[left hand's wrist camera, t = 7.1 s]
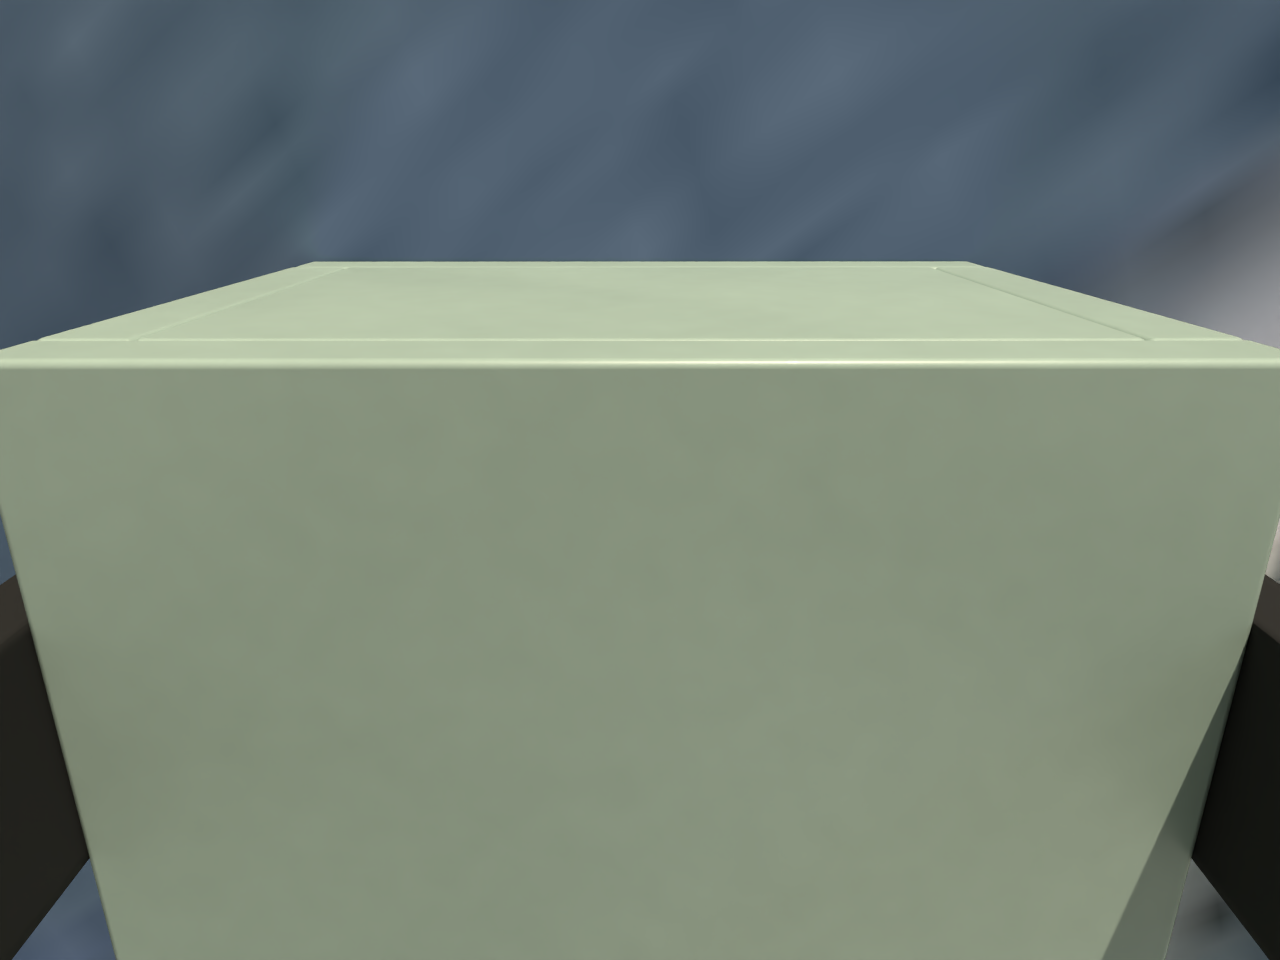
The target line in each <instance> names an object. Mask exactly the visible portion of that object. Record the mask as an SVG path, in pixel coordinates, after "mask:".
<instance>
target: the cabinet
mask: <svg viewBox="0 0 1280 960" xmlns="http://www.w3.org/2000/svg"><path fill="white" fill-rule="evenodd" d="M0 514H1V518H2V522H3V526H4V530H5V534H6V538H7V541H8V545H9V549H10V553H11V557H12V561H13V564H14V568H15V572H16V576H17V580H18V584H19V588H20V591H21V595H22V599H23V603H24V607H25V611H26V615H27V618H28V622H29V626H30V630H31V634H32V638H33V641H34V645H35V649H36V653H37V657H38V661H39V665H40V668H41V672H42V676H43V680H44V684H45V688H46V691H47V695H48V699H49V703H50V707H51V711H52V715H53V718H54V722H55V726H56V730H57V734H58V738H59V742H60V745H61V749H62V753H63V757H64V761H65V765H66V768H67V772H68V776H69V780H70V784H71V788H72V792H73V795H74V799H75V803H76V807H77V811H78V815H79V819H80V822H81V826H82V830H83V834H84V838H85V842H86V845H87V849H88V853H89V857H90V861H91V865H92V869H93V872H94V876H95V880H96V884H97V888H98V892H99V895H100V899H101V903H102V907H103V911H104V915H105V919H106V922H107V926H108V930H109V934H110V938H111V942H112V946H113V949H114V953H115V957H116V960H1165V958H1166V954H1167V950H1168V946H1169V942H1170V938H1171V934H1172V931H1173V927H1174V923H1175V919H1176V915H1177V911H1178V907H1179V904H1180V900H1181V896H1182V892H1183V888H1184V884H1185V880H1186V877H1187V873H1188V869H1189V865H1190V861H1191V857H1192V854H1193V850H1194V846H1195V842H1196V838H1197V834H1198V830H1199V827H1200V823H1201V819H1202V815H1203V811H1204V807H1205V803H1206V800H1207V796H1208V792H1209V788H1210V784H1211V780H1212V776H1213V773H1214V769H1215V765H1216V761H1217V757H1218V753H1219V749H1220V746H1221V742H1222V738H1223V734H1224V730H1225V726H1226V722H1227V719H1228V715H1229V711H1230V707H1231V703H1232V699H1233V695H1234V692H1235V688H1236V684H1237V680H1238V676H1239V672H1240V668H1241V665H1242V661H1243V657H1244V653H1245V649H1246V645H1247V641H1248V638H1249V634H1250V630H1251V626H1252V622H1253V618H1254V615H1255V611H1256V607H1257V603H1258V599H1259V595H1260V591H1261V588H1262V584H1263V580H1264V576H1265V572H1266V568H1267V564H1268V561H1269V557H1270V553H1271V549H1272V545H1273V541H1274V537H1275V534H1276V530H1277V526H1278V522H1279V518H1280V349H1277V348H1274V347H1270V346H1267V345H1263V344H1260V343H1256V342H1252V341H1249V340H1243V339H1241V338H1238V337H1235V336H1232V335H1228V334H1224V333H1221V332H1217V331H1214V330H1210V329H1207V328H1203V327H1199V326H1196V325H1192V324H1189V323H1185V322H1182V321H1178V320H1174V319H1171V318H1167V317H1164V316H1160V315H1157V314H1153V313H1149V312H1146V311H1142V310H1139V309H1135V308H1132V307H1128V306H1124V305H1121V304H1117V303H1114V302H1110V301H1107V300H1103V299H1099V298H1096V297H1092V296H1089V295H1085V294H1082V293H1078V292H1074V291H1071V290H1067V289H1064V288H1060V287H1057V286H1053V285H1049V284H1046V283H1042V282H1039V281H1035V280H1032V279H1028V278H1024V277H1021V276H1017V275H1014V274H1010V273H1006V272H1003V271H999V270H996V269H992V268H989V267H983V266H980V265H977V264H973V263H970V262H312V263H308V264H304V265H301V266H298V267H292V268H289V269H285V270H282V271H278V272H275V273H271V274H268V275H264V276H261V277H257V278H253V279H250V280H246V281H243V282H239V283H236V284H232V285H229V286H225V287H221V288H218V289H214V290H211V291H207V292H204V293H200V294H197V295H193V296H189V297H186V298H182V299H179V300H175V301H172V302H168V303H165V304H161V305H157V306H154V307H150V308H147V309H143V310H140V311H136V312H133V313H129V314H125V315H122V316H118V317H115V318H111V319H108V320H104V321H101V322H97V323H94V324H90V325H86V326H83V327H79V328H76V329H72V330H69V331H65V332H62V333H58V334H54V335H51V336H47V337H44V338H41V339H39V340H37V341H30V342H27V343H23V344H20V345H16V346H13V347H9V348H6V349H2V350H0Z"/></svg>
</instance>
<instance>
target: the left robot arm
mask: <svg viewBox="0 0 1280 960" xmlns="http://www.w3.org/2000/svg"><path fill="white" fill-rule="evenodd" d="M89 858H90V857H89V853H88V849H87V845H86V842H85V838H84V834H83V830H82V826H81V822H80V819H79V815H78V811H77V807H76V803H75V799H74V795H73V792H72V788H71V784H70V780H69V776H68V772H67V768H66V765H65V761H64V757H63V753H62V749H61V745H60V742H59V738H58V734H57V730H56V726H55V722H54V718H53V715H52V711H51V707H50V703H49V699H48V695H47V691H46V688H45V684H44V680H43V676H42V672H41V668H40V665H39V661H38V657H37V653H36V649H35V645H34V641H33V638H32V634H31V630H30V626H29V622H28V618H27V615H26V611H25V607H24V603H23V599H22V595H21V591H20V588H19V584H18V580H17V576H16V575H14V576H13V577H11V578H10V579H9V580H7V581H6V582H4V583H3V584H1V585H0V960H12V959H13V957H14V956H15V955H16V953H17V952H18V951H19V949H20V948H21V947H22V945H23V944H24V943H25V942H26V940H27V939H28V938H29V936H30V935H31V934H32V932H33V931H34V930H35V929H36V927H37V926H38V925H39V923H40V922H41V921H42V919H43V918H44V917H45V915H46V914H47V913H48V912H49V910H50V909H51V908H52V906H53V905H54V904H55V902H56V901H57V900H58V898H59V897H60V896H61V895H62V893H63V892H64V891H65V889H66V888H67V887H68V885H69V884H70V883H71V882H72V880H73V879H74V878H75V876H76V875H77V874H78V872H79V871H80V870H81V868H82V867H83V866H84V865H85V863H86V862H87V861H88V859H89ZM1191 858H1192V859H1193V861H1194V862H1195V863H1196V865H1197V866H1198V867H1199V868H1200V870H1201V871H1202V872H1203V874H1204V875H1205V876H1206V878H1207V879H1208V880H1209V882H1210V883H1211V884H1212V885H1213V887H1214V888H1215V889H1216V891H1217V892H1218V893H1219V895H1220V896H1221V897H1222V898H1223V900H1224V901H1225V902H1226V904H1227V905H1228V906H1229V908H1230V909H1231V910H1232V912H1233V913H1234V914H1235V915H1236V917H1237V918H1238V919H1239V921H1240V922H1241V923H1242V925H1243V926H1244V927H1245V928H1246V930H1247V931H1248V932H1249V934H1250V935H1251V936H1252V938H1253V939H1254V940H1255V942H1256V943H1257V944H1258V945H1259V947H1260V948H1261V949H1262V951H1263V952H1264V953H1265V955H1266V956H1267V957H1268V958H1269V960H1280V584H1278V583H1277V582H1275V581H1274V580H1273V579H1271V578H1270V577H1268V576H1267V575H1265V576H1264V580H1263V584H1262V588H1261V591H1260V595H1259V599H1258V603H1257V607H1256V611H1255V615H1254V618H1253V622H1252V626H1251V630H1250V634H1249V638H1248V641H1247V645H1246V649H1245V653H1244V657H1243V661H1242V665H1241V668H1240V672H1239V676H1238V680H1237V684H1236V688H1235V692H1234V695H1233V699H1232V703H1231V707H1230V711H1229V715H1228V719H1227V722H1226V726H1225V730H1224V734H1223V738H1222V742H1221V746H1220V749H1219V753H1218V757H1217V761H1216V765H1215V769H1214V773H1213V776H1212V780H1211V784H1210V788H1209V792H1208V796H1207V800H1206V803H1205V807H1204V811H1203V815H1202V819H1201V823H1200V827H1199V830H1198V834H1197V838H1196V842H1195V846H1194V850H1193V854H1192V857H1191Z"/></svg>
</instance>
